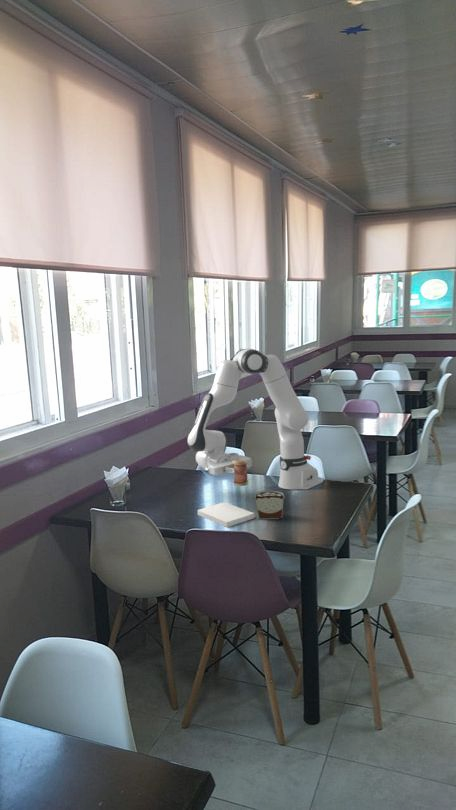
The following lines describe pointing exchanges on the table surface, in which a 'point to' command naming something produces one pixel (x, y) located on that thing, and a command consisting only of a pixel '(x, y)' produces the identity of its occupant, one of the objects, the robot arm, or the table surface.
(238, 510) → the shelf board
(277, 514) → the food container
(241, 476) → the cord spool
